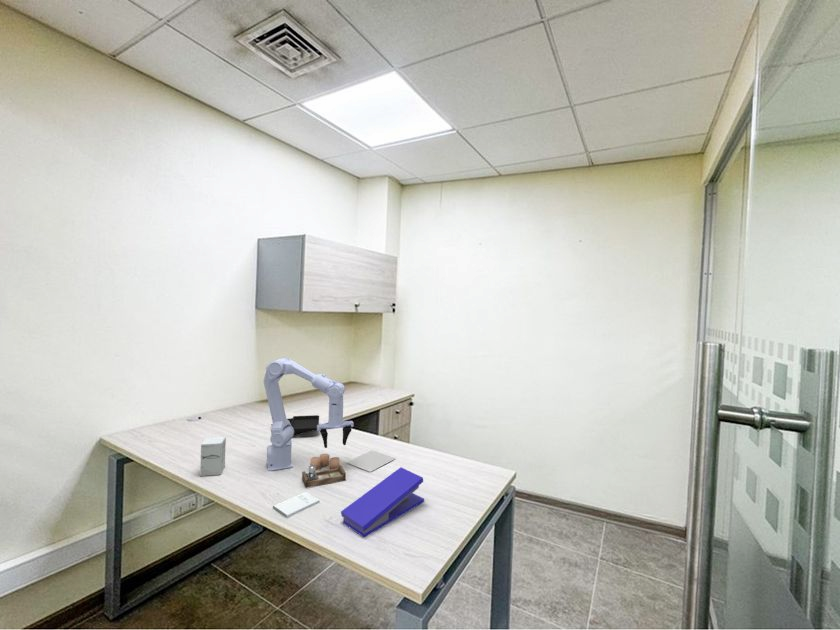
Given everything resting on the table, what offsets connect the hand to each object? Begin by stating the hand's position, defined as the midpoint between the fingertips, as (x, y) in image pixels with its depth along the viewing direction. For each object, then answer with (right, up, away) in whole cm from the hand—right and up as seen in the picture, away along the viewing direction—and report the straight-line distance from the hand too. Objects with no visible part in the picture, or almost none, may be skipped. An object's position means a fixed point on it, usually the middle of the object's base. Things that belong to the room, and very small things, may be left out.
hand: (334, 445), depth 152 cm
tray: (-28, -7, +43) cm, 52 cm away
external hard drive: (-7, -11, -27) cm, 30 cm away
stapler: (+23, -12, -29) cm, 39 cm away
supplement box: (-46, -8, -6) cm, 47 cm away
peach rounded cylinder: (-5, -9, +3) cm, 11 cm away
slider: (-6, -8, -12) cm, 15 cm away
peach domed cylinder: (0, -10, 0) cm, 10 cm away
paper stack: (+15, -11, +3) cm, 19 cm away
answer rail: (-2, -10, -10) cm, 14 cm away
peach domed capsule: (-8, -9, 0) cm, 12 cm away
